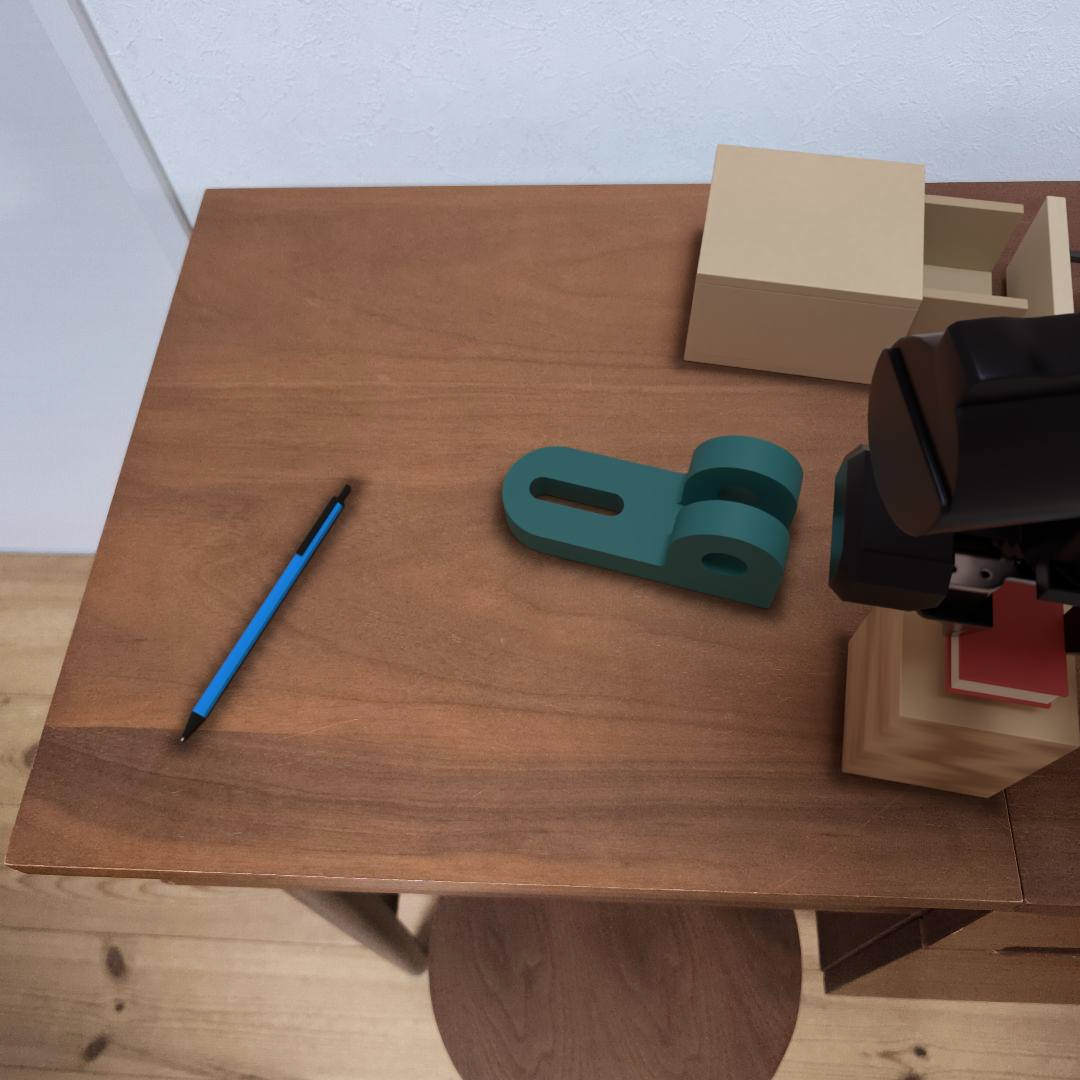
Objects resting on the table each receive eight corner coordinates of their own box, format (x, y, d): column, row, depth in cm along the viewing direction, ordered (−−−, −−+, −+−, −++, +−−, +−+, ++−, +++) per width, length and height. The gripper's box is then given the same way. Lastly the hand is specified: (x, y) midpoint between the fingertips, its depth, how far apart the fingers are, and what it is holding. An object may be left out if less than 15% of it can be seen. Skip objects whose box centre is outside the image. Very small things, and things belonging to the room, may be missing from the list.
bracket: (787, 516, 61) (814, 450, 54) (768, 609, 58) (794, 552, 51) (522, 454, 64) (514, 384, 57) (491, 540, 61) (479, 477, 54)
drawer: (1098, 279, 68) (1149, 205, 61) (1109, 399, 63) (1166, 332, 57) (845, 251, 70) (870, 176, 64) (837, 364, 65) (864, 296, 59)
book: (1042, 589, 45) (1061, 571, 43) (1048, 709, 42) (1069, 695, 41) (945, 574, 46) (960, 555, 44) (945, 691, 43) (960, 677, 41)
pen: (355, 491, 63) (352, 483, 62) (190, 745, 56) (183, 740, 55) (344, 487, 64) (340, 478, 63) (178, 739, 56) (170, 734, 55)
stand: (985, 664, 56) (1071, 587, 46) (988, 798, 52) (1081, 746, 43) (848, 641, 57) (903, 562, 47) (841, 772, 53) (899, 715, 44)
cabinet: (887, 259, 71) (925, 164, 63) (882, 386, 65) (923, 299, 57) (702, 238, 72) (717, 143, 64) (683, 360, 67) (696, 272, 59)
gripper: (1461, 293, 32) (1195, 514, 46) (897, 231, 34) (806, 459, 48) (1554, 588, 27) (1224, 735, 41) (888, 492, 29) (790, 663, 43)
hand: (1000, 634), depth 43 cm, fingers closed on book, 4 cm apart
